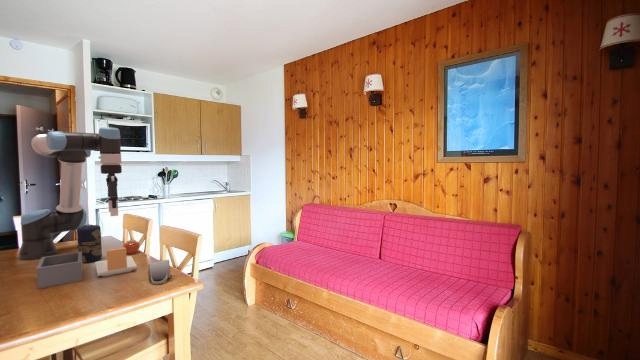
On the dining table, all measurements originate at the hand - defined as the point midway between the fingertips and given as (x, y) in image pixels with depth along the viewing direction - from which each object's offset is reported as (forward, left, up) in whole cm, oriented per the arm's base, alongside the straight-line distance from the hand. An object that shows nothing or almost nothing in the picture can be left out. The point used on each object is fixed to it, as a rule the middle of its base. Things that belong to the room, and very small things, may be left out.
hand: (113, 213), depth 140 cm
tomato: (-32, +9, -27) cm, 42 cm away
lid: (-7, 0, -27) cm, 28 cm away
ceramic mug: (+20, +14, -27) cm, 36 cm away
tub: (-8, -19, -26) cm, 33 cm away
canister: (-30, -9, -27) cm, 41 cm away
